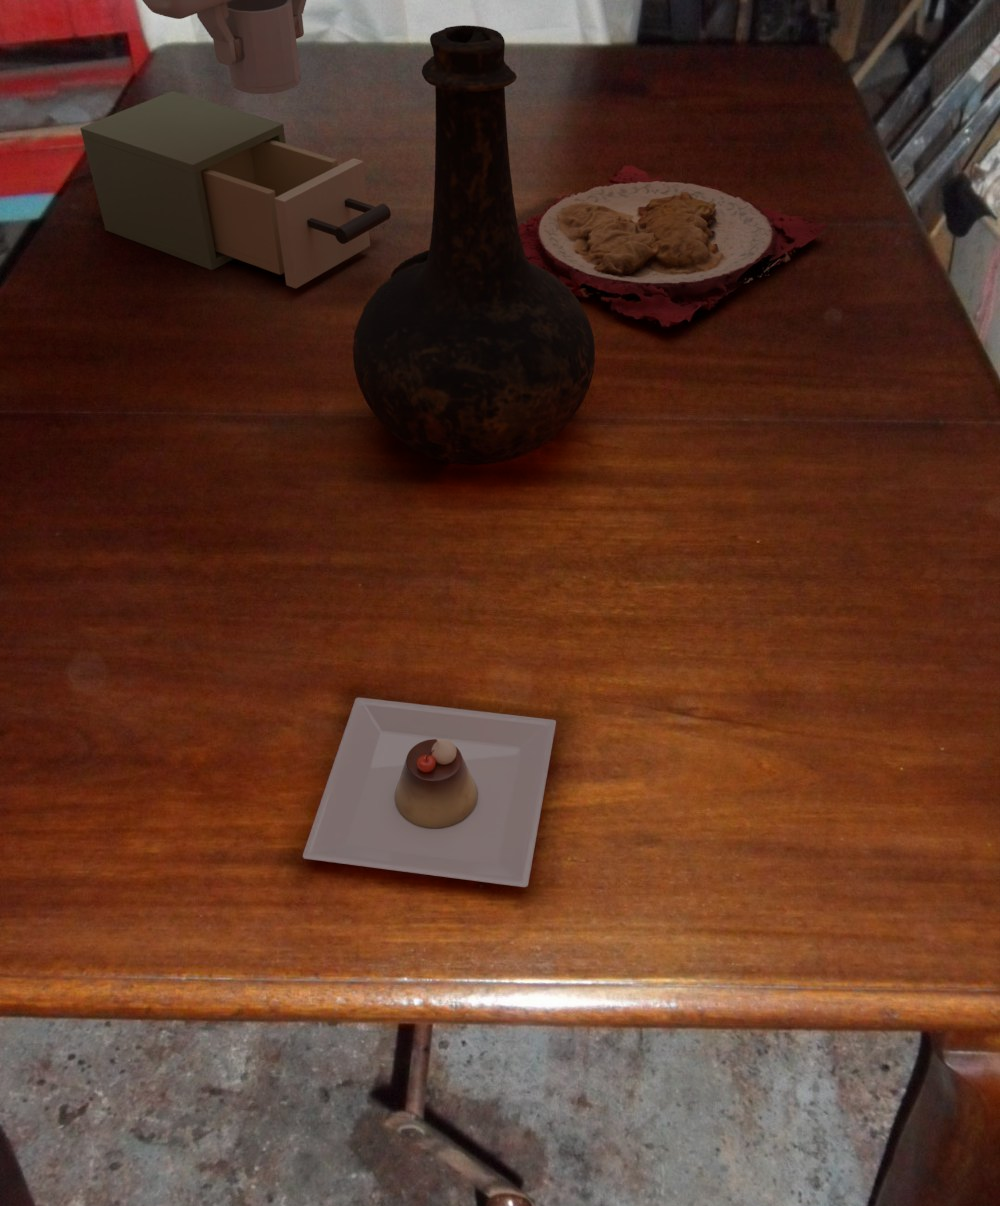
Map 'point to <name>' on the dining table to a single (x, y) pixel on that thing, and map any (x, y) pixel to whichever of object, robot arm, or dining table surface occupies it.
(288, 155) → the drawer
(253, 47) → the tin
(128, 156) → the cabinet
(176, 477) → the dining table surface
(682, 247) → the plate with food
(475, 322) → the glass bottle
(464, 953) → the dining table surface
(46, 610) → the dining table surface
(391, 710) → the dessert
